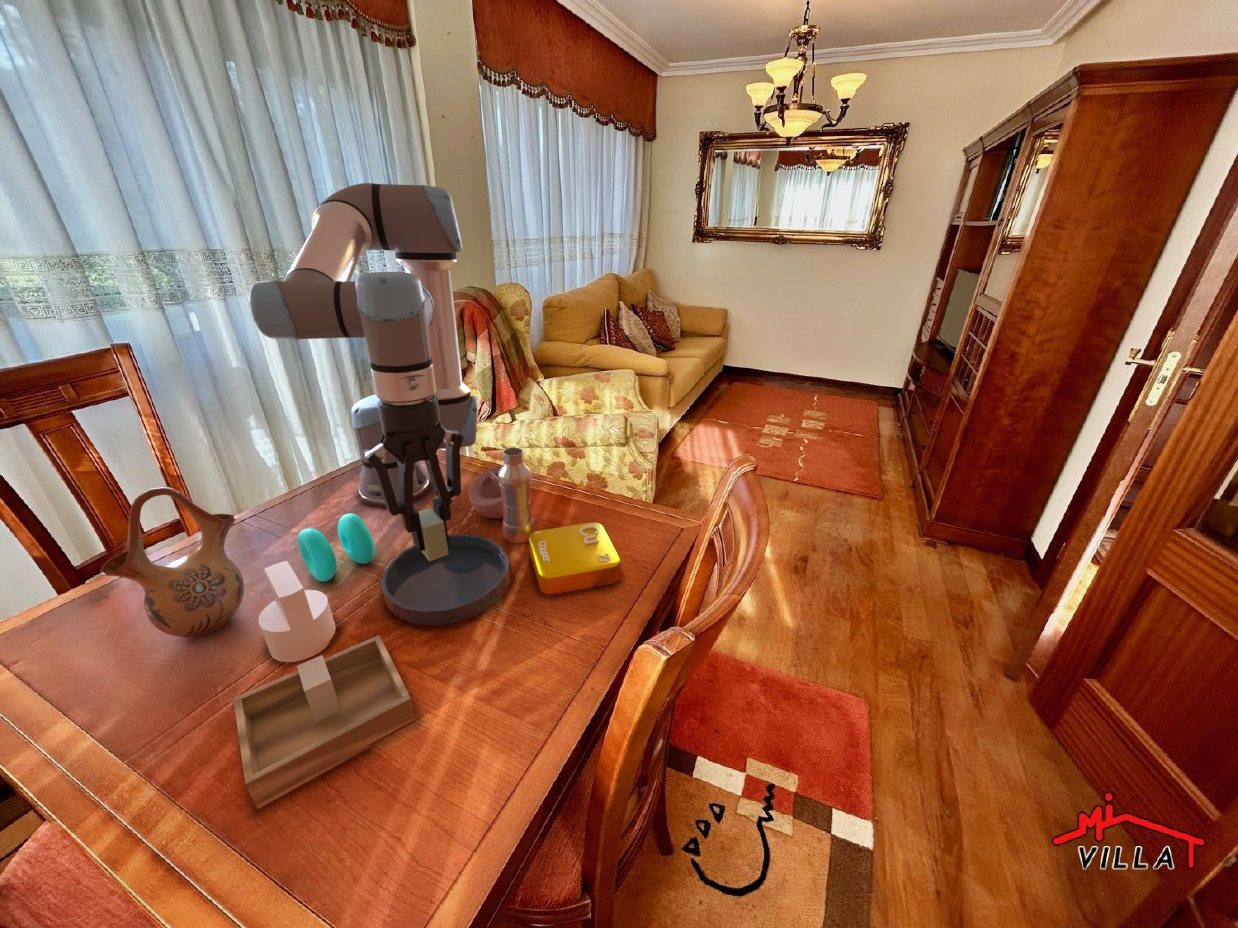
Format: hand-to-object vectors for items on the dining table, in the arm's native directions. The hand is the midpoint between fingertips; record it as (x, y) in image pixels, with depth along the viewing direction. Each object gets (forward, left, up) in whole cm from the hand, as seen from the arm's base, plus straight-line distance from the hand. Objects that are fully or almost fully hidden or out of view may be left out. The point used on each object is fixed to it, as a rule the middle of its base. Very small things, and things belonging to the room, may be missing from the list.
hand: (431, 542), depth 77 cm
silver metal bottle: (-12, +21, -15) cm, 28 cm away
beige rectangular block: (+7, -19, -14) cm, 25 cm away
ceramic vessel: (-20, -30, -15) cm, 39 cm away
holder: (+10, -19, -15) cm, 26 cm away
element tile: (+2, +25, -15) cm, 29 cm away
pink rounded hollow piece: (-23, +22, -15) cm, 35 cm away
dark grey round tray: (-7, +4, -15) cm, 17 cm away
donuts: (-23, -10, -15) cm, 29 cm away
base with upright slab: (-8, -19, -15) cm, 25 cm away
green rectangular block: (0, 0, -2) cm, 2 cm away
